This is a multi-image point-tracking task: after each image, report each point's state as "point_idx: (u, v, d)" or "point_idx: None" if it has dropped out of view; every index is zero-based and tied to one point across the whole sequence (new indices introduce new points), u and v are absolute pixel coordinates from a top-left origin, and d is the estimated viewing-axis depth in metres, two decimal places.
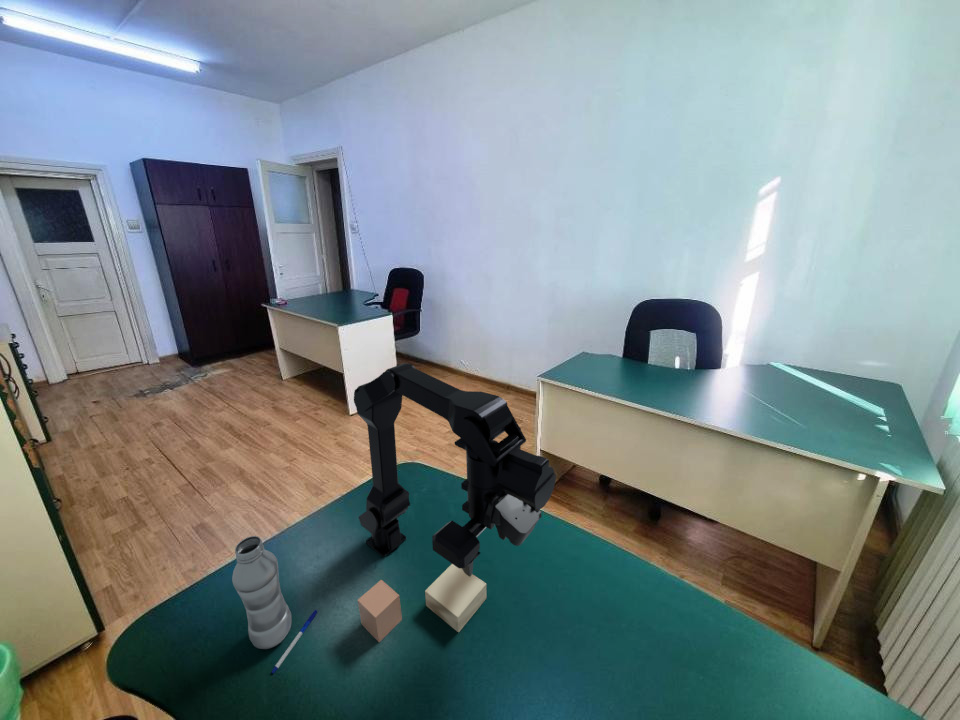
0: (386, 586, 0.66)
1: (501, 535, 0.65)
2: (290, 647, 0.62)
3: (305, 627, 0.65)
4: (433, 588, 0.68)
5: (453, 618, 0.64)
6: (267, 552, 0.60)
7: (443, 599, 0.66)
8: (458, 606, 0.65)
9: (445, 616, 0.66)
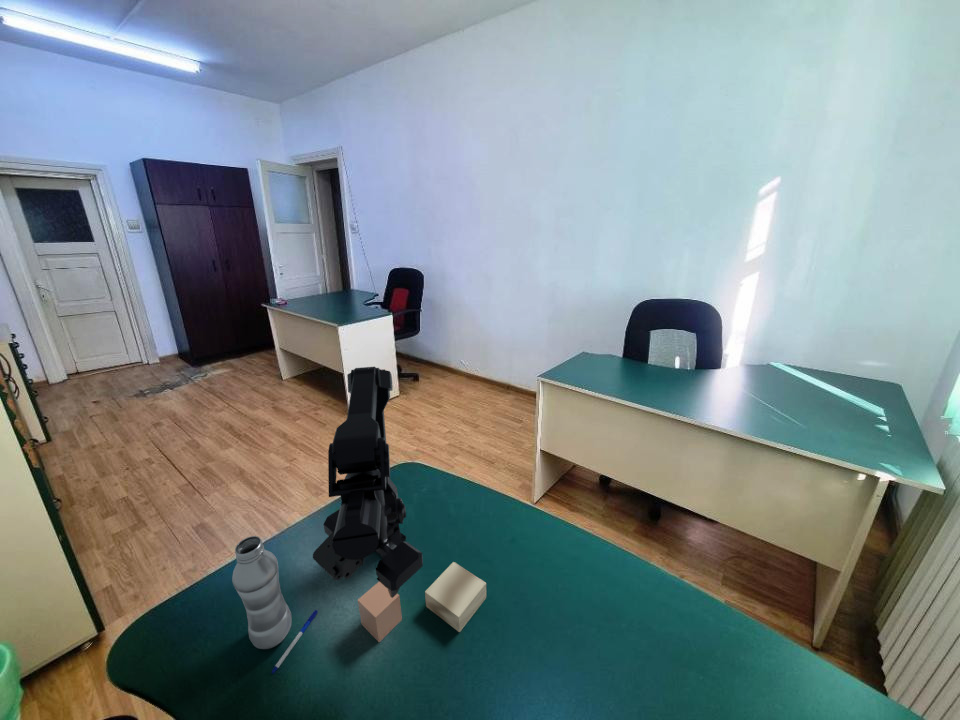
0: None
1: None
2: (290, 647, 0.62)
3: (305, 627, 0.65)
4: (433, 589, 0.68)
5: (454, 618, 0.64)
6: (267, 552, 0.60)
7: (443, 599, 0.66)
8: (458, 605, 0.65)
9: (446, 617, 0.66)
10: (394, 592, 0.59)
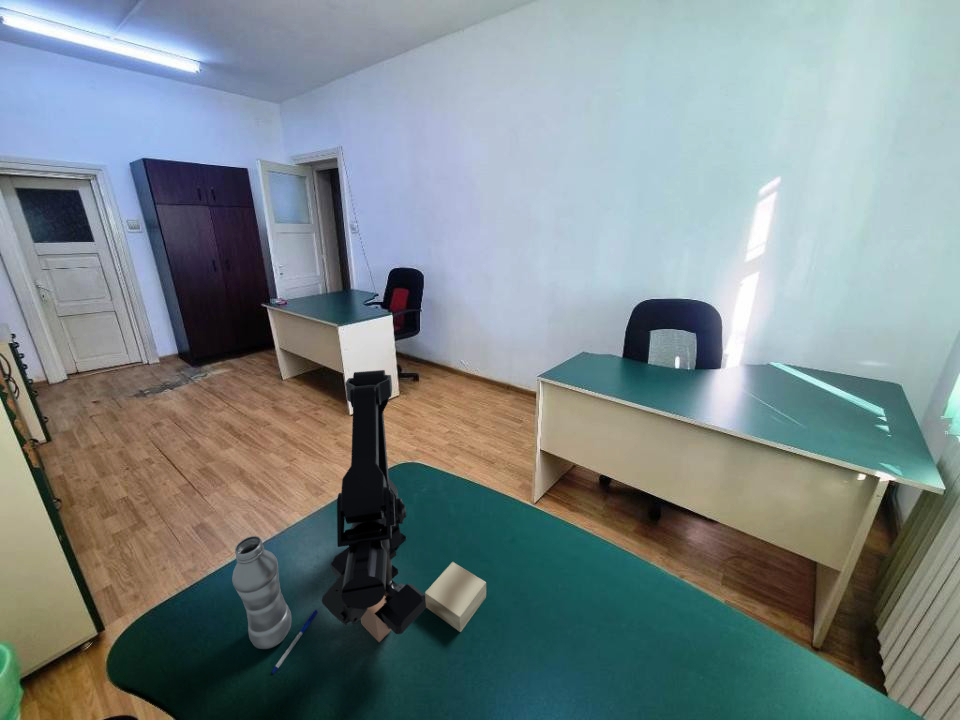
0: None
1: None
2: (290, 647, 0.62)
3: (305, 627, 0.65)
4: (433, 589, 0.68)
5: (455, 618, 0.64)
6: (267, 552, 0.60)
7: (443, 599, 0.66)
8: (459, 605, 0.65)
9: (446, 617, 0.66)
10: None
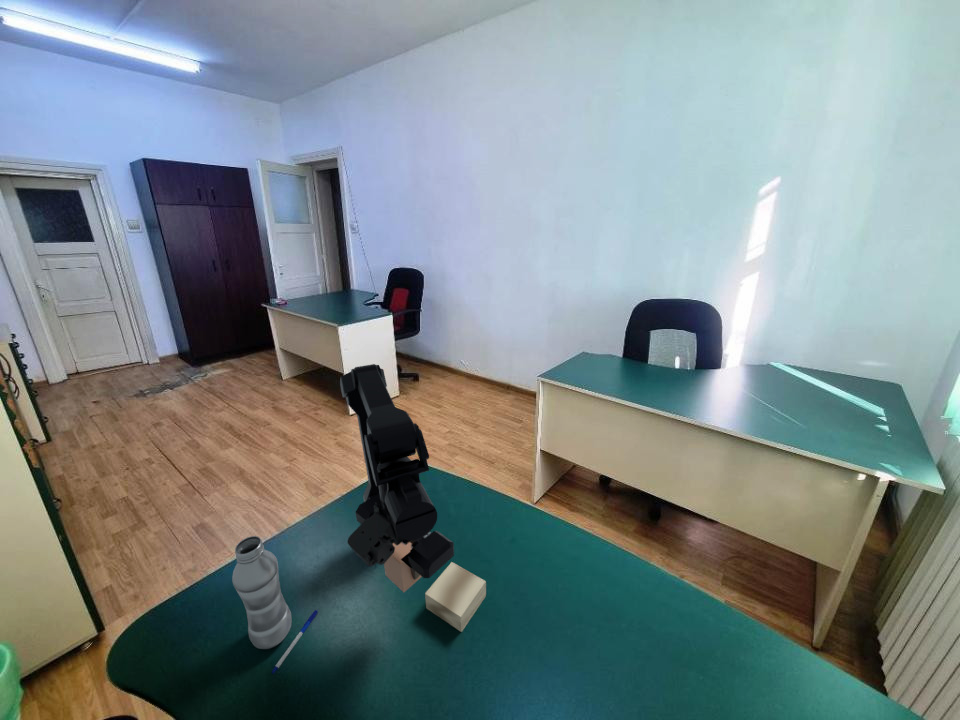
0: None
1: None
2: (290, 647, 0.62)
3: (305, 627, 0.65)
4: (433, 590, 0.68)
5: (455, 618, 0.64)
6: (267, 552, 0.60)
7: (444, 600, 0.66)
8: (460, 605, 0.65)
9: (447, 617, 0.66)
10: (417, 574, 0.61)
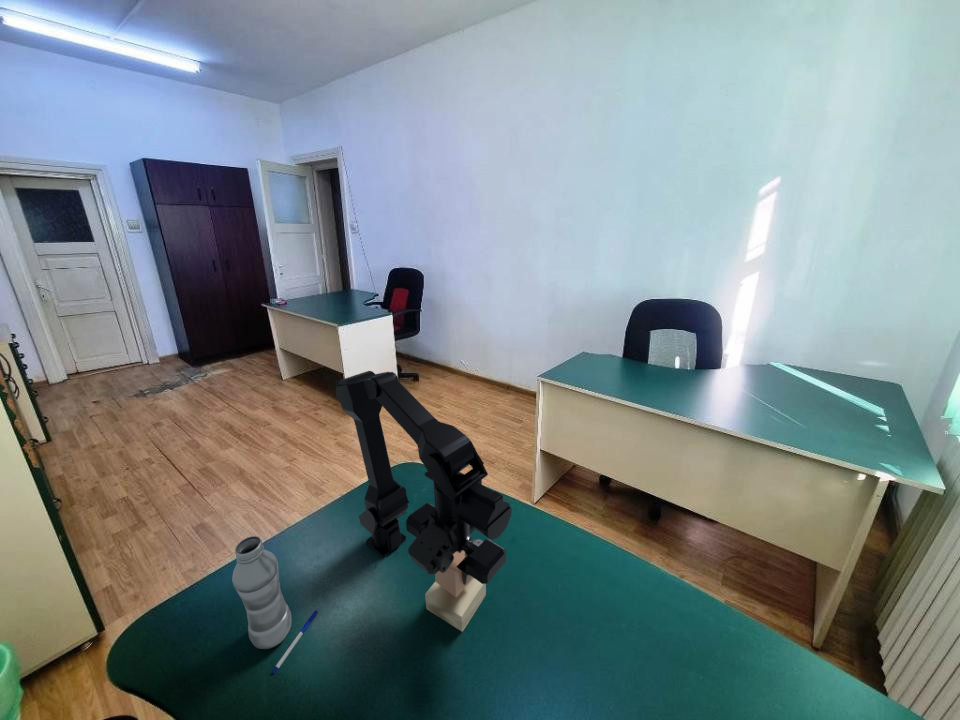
0: None
1: None
2: (290, 647, 0.62)
3: (305, 627, 0.65)
4: (433, 590, 0.68)
5: (456, 618, 0.64)
6: (267, 552, 0.60)
7: (444, 600, 0.66)
8: (460, 605, 0.65)
9: (448, 617, 0.66)
10: (467, 580, 0.65)
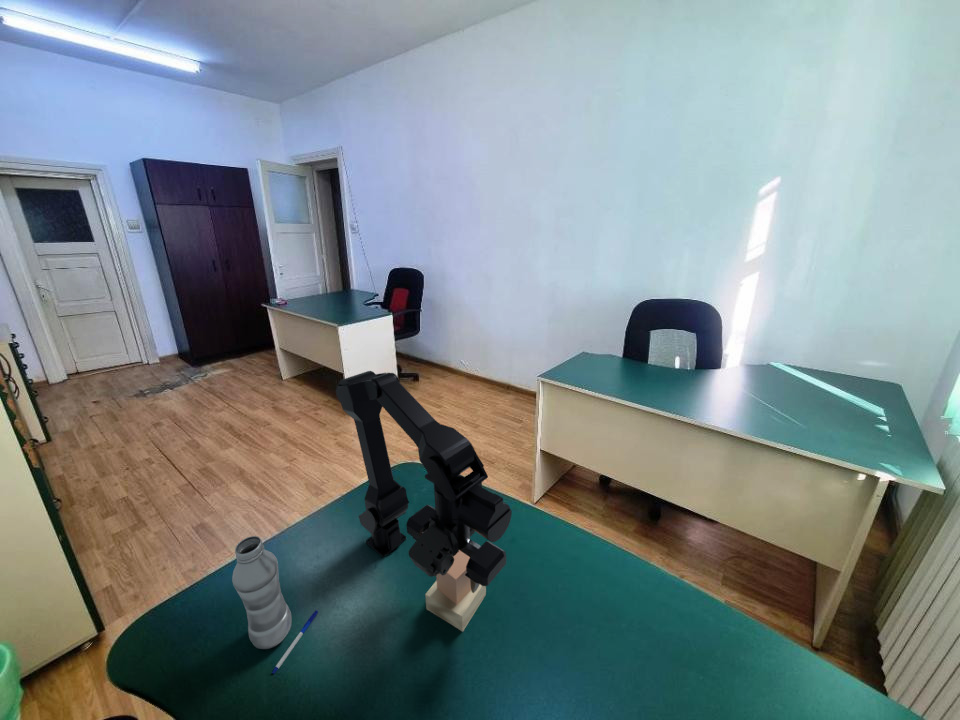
0: (461, 552, 0.69)
1: None
2: (291, 647, 0.62)
3: (306, 627, 0.65)
4: (433, 591, 0.68)
5: (457, 618, 0.64)
6: (267, 552, 0.60)
7: (444, 600, 0.66)
8: (461, 605, 0.65)
9: (448, 617, 0.66)
10: (476, 588, 0.64)
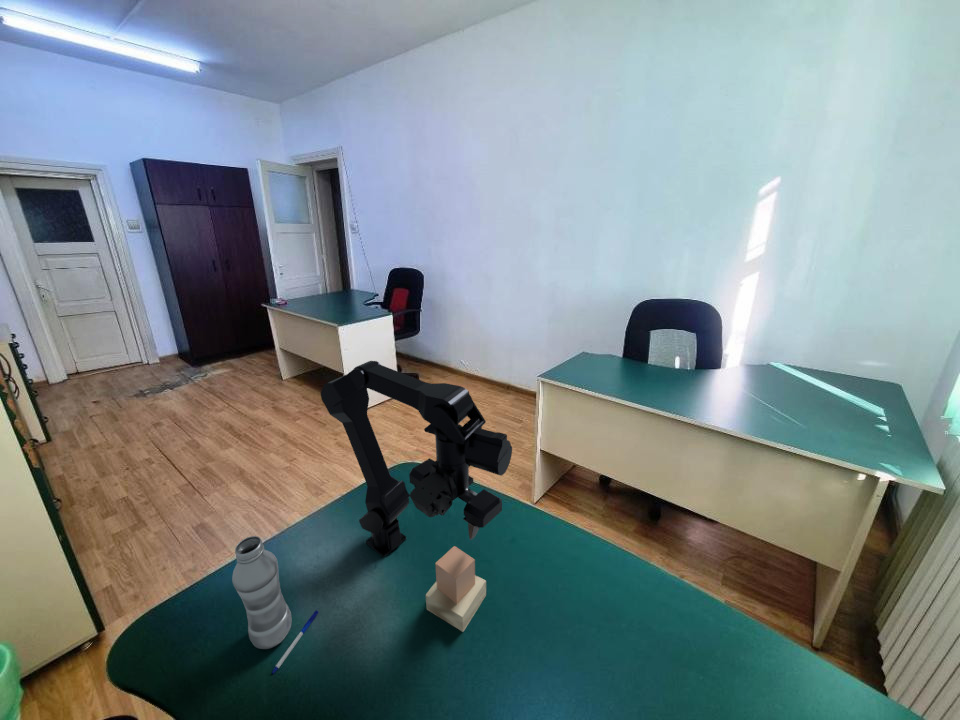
0: (460, 551, 0.69)
1: None
2: (291, 647, 0.62)
3: (306, 627, 0.65)
4: (433, 591, 0.68)
5: (457, 619, 0.64)
6: (267, 552, 0.60)
7: (445, 600, 0.66)
8: (461, 605, 0.65)
9: (448, 618, 0.65)
10: (473, 534, 0.68)
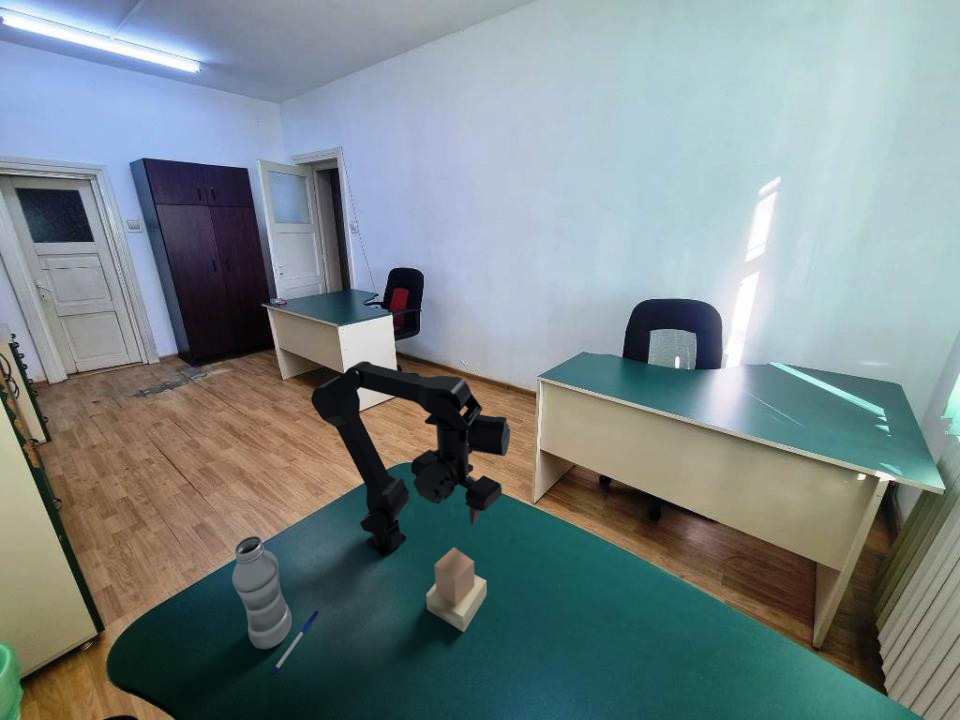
0: (460, 553, 0.68)
1: None
2: (291, 647, 0.62)
3: (306, 627, 0.65)
4: (434, 591, 0.68)
5: (457, 619, 0.64)
6: (267, 552, 0.60)
7: (445, 600, 0.66)
8: (461, 605, 0.65)
9: (449, 618, 0.66)
10: (475, 519, 0.71)
